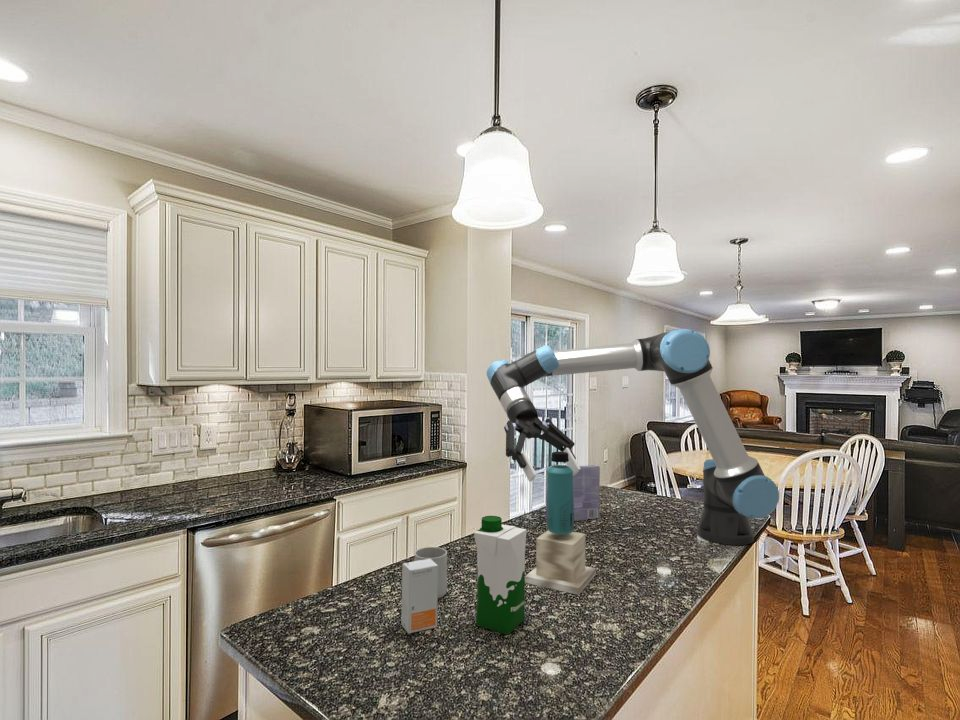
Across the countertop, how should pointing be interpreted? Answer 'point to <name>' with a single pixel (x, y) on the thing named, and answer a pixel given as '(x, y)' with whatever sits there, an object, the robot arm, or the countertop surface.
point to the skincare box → (419, 595)
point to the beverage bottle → (560, 496)
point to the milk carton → (500, 575)
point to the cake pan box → (585, 493)
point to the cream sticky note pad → (561, 563)
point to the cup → (440, 559)
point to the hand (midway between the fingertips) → (555, 475)
